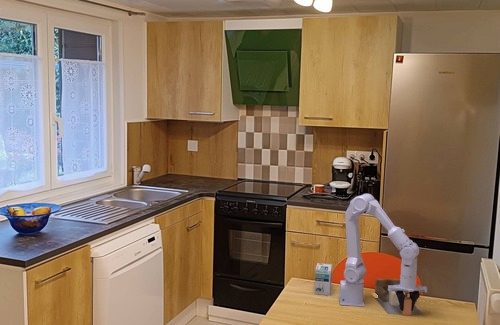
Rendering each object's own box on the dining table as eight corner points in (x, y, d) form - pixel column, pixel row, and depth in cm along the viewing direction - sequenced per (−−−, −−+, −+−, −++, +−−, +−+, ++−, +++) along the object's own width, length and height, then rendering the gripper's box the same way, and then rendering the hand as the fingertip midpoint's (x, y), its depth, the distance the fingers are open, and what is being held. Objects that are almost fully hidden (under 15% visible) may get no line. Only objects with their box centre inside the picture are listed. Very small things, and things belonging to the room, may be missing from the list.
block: (400, 315, 204) (401, 299, 204) (388, 301, 219) (389, 286, 219) (413, 315, 204) (414, 299, 204) (400, 301, 219) (401, 287, 219)
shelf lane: (387, 314, 205) (388, 298, 204) (369, 292, 230) (370, 278, 229) (423, 314, 206) (424, 299, 205) (402, 293, 231) (402, 278, 230)
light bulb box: (330, 296, 224) (331, 270, 223) (313, 294, 225) (315, 269, 224) (331, 288, 234) (332, 263, 233) (316, 286, 235) (317, 262, 234)
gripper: (392, 278, 200) (390, 313, 201) (431, 278, 201) (428, 314, 202) (387, 272, 207) (385, 306, 208) (424, 273, 208) (421, 307, 209)
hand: (406, 310), depth 205 cm, fingers closed on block, 3 cm apart
